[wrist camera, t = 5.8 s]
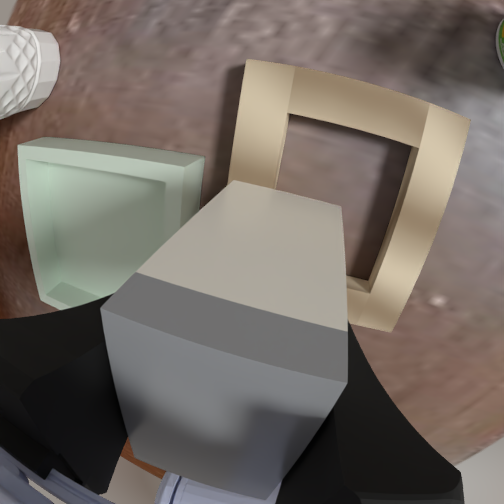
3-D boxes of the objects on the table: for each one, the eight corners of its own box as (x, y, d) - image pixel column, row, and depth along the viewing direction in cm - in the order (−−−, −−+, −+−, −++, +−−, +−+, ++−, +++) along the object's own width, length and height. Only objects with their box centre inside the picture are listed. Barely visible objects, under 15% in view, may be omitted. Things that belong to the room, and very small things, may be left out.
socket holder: (388, 318, 21) (391, 332, 20) (221, 277, 22) (214, 288, 21) (460, 117, 14) (470, 119, 13) (253, 62, 16) (246, 59, 14)
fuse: (300, 331, 14) (265, 500, 7) (214, 308, 15) (134, 457, 8) (341, 206, 11) (347, 383, 4) (233, 179, 12) (100, 308, 5)
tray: (190, 331, 25) (176, 356, 23) (59, 283, 27) (40, 300, 25) (205, 156, 19) (184, 167, 16) (45, 136, 20) (17, 145, 18)
